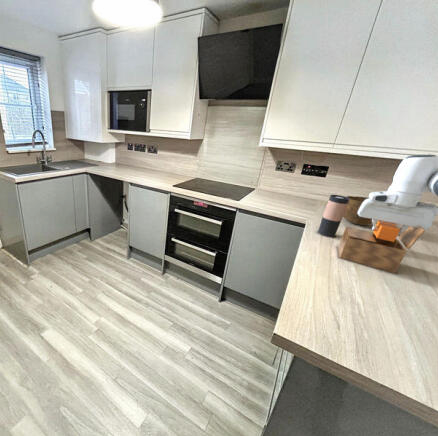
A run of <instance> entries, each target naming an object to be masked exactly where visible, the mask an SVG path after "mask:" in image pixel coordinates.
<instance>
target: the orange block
mask: <svg viewBox="0 0 438 436" xmlns="http://www.w3.org/2000/svg"><path fill="white" fill-rule="evenodd" d="M376 226H378V227H379V228H378V231H373V230H372V232H374V234H375V236H376V238H379V239H383V240H387V241H392V242H394V241H395V239H397V237H398V236H397V235H398V233H399V231H400V229H401V228H399V227H398V225H397V224H392V223H387V222H382V221H378V223H377V225H376Z"/></svg>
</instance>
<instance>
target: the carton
mask: <svg viewBox="0 0 438 436" xmlns="http://www.w3.org/2000/svg"><path fill="white" fill-rule="evenodd" d="M372 232H373V231H370V230H365V229H361V228H357V227H351V226H345V229H344V231H343V234H342V235H341V238H340V241H339V244H338V246H337V249H338V257H339V259H342V260H346V261H350V262H353V263H357V264H360V265H363V266H368V267H371V268H375V269H377V270H382V271H385V272H389V273H392V274H396V273H397V271H398V269H399V267H400V265H401V263H402V261H403V260H404V258H405V256H406V253H408V251H407V249H406V247H405V246H404V245H403V243H402V242H401V241H400V239H399V238H398V239H397V238H396V239H395V241H394V242H392V241H387V240H383V239H379V238H376V236H375V234H372Z"/></svg>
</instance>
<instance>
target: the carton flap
mask: <svg viewBox="0 0 438 436" xmlns="http://www.w3.org/2000/svg"><path fill="white" fill-rule="evenodd" d="M425 232H426V230H425V229H423V228H422V227H421V226H419V227H418V228H415V227H410V226H409V227H408V229H407V230H405V231H403V232H401V234H400V236H398V240H399V241H400V243H401V244H402V245H403V247H404V248H405V249H406V251H407V250H408V251H409V250H411V248H412V247H413V245H415V243H416V242H417V241H418V240H419V239H420V238H421V236H422V235H423V234H424V233H425Z"/></svg>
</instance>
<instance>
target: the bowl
mask: <svg viewBox="0 0 438 436" xmlns="http://www.w3.org/2000/svg"><path fill="white" fill-rule="evenodd" d="M346 197H348V198H349V202H348V204H347V207H346V210H345V212H344V215H343V219H344V220H346V221H348V222H350V223H352V224H355V225H359V226H366V225H367V226H368V225H373V223H372V219H369V218H364V217H360V216H359V215H358V210H359V208H360V206H361V204H362V203H363V201H364V200H366V199H368V198H369V197H367V196H355V195H354V196H353V195H347V196H346Z"/></svg>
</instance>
